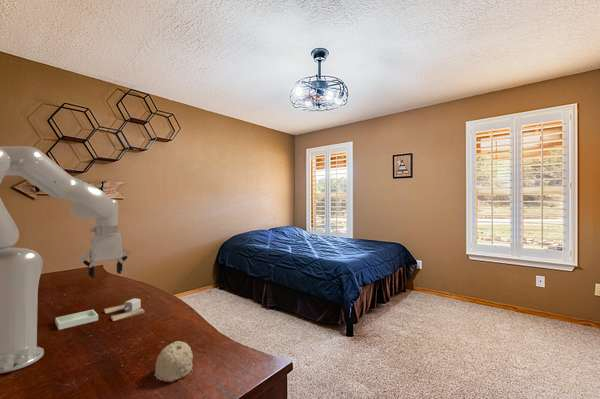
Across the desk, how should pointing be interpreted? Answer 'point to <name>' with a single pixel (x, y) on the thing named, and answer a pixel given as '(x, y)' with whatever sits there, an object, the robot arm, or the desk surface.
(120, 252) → the robot arm
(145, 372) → the desk surface
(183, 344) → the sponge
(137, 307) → the usb wall charger
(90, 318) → the tray
